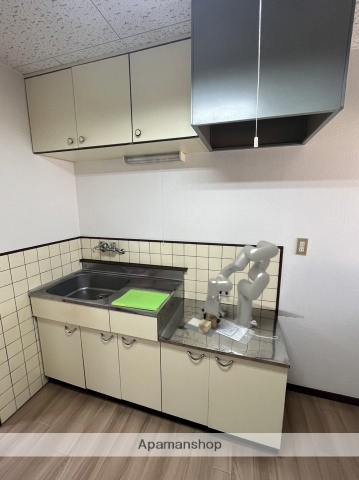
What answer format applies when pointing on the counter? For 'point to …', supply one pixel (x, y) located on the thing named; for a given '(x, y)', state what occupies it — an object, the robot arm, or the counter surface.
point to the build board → (194, 326)
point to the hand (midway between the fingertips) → (211, 320)
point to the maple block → (205, 327)
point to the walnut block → (213, 321)
